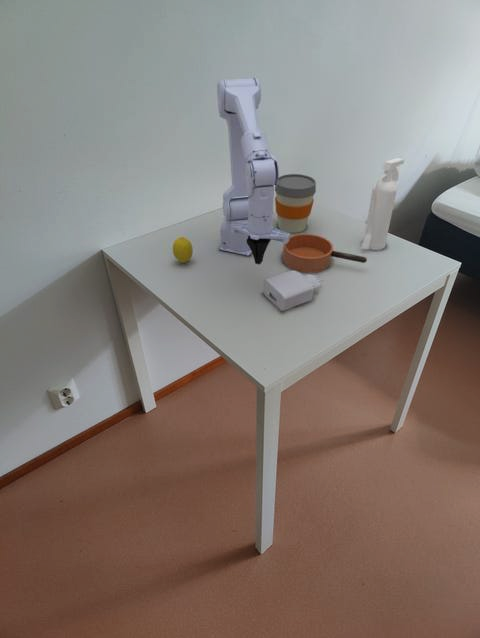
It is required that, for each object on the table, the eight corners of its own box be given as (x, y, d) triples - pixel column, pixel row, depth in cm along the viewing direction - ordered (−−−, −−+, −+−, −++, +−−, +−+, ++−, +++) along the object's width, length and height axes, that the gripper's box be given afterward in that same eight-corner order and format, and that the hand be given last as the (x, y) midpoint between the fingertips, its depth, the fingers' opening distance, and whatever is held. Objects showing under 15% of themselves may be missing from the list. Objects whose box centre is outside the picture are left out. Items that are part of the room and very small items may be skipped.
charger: (331, 294, 104) (283, 312, 98) (309, 277, 110) (262, 293, 104) (334, 279, 101) (284, 297, 95) (311, 262, 107) (263, 278, 101)
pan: (276, 266, 114) (277, 252, 111) (290, 243, 124) (292, 230, 121) (324, 276, 110) (326, 262, 107) (335, 252, 120) (337, 239, 117)
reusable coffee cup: (267, 231, 130) (269, 185, 120) (279, 215, 139) (282, 171, 129) (305, 238, 126) (310, 192, 117) (315, 221, 135) (321, 177, 125)
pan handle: (327, 256, 113) (327, 251, 112) (328, 253, 114) (329, 248, 113) (365, 264, 110) (366, 259, 109) (366, 261, 111) (367, 256, 110)
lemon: (196, 259, 117) (194, 234, 112) (188, 268, 113) (186, 243, 108) (179, 255, 118) (176, 231, 113) (170, 265, 114) (167, 240, 109)
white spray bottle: (349, 248, 121) (366, 164, 105) (373, 235, 128) (392, 153, 112) (369, 257, 118) (388, 171, 101) (392, 243, 124) (414, 160, 108)
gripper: (225, 214, 94) (226, 263, 102) (284, 225, 89) (280, 276, 98) (237, 202, 99) (237, 250, 107) (294, 212, 94) (289, 261, 103)
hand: (258, 262), depth 103 cm, fingers closed
